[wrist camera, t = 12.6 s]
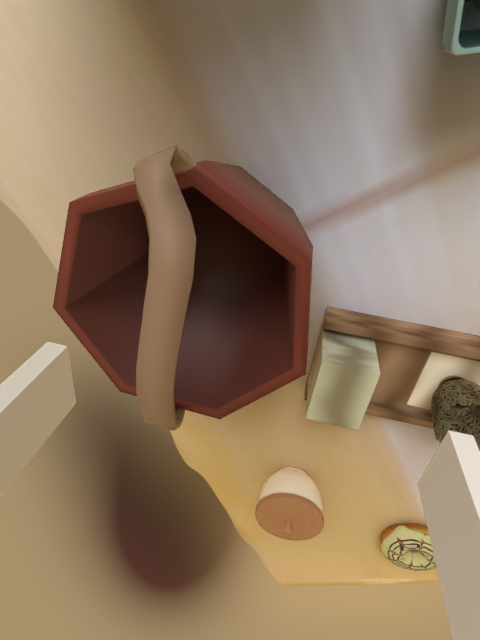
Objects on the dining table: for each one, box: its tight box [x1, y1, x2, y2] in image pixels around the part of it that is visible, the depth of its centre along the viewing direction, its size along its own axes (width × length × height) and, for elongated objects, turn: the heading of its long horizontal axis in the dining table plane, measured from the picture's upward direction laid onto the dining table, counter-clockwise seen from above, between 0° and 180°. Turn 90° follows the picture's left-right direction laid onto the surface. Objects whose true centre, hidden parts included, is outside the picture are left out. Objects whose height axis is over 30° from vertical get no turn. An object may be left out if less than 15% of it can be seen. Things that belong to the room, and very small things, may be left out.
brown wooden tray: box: [305, 307, 480, 430], centre depth 48 cm, size 24×14×8 cm, turn 83°
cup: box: [431, 375, 480, 451], centre depth 46 cm, size 8×7×8 cm
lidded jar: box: [255, 467, 324, 540], centre depth 63 cm, size 11×11×9 cm
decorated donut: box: [381, 524, 437, 571], centre depth 68 cm, size 10×11×4 cm
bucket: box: [53, 145, 313, 430], centre depth 37 cm, size 24×22×25 cm
